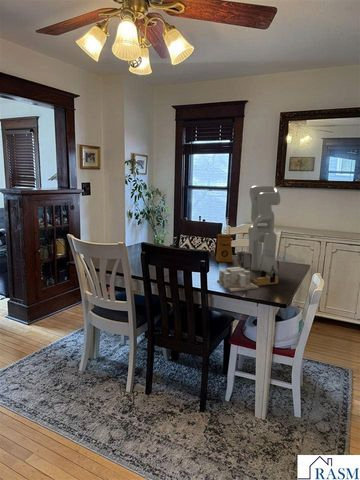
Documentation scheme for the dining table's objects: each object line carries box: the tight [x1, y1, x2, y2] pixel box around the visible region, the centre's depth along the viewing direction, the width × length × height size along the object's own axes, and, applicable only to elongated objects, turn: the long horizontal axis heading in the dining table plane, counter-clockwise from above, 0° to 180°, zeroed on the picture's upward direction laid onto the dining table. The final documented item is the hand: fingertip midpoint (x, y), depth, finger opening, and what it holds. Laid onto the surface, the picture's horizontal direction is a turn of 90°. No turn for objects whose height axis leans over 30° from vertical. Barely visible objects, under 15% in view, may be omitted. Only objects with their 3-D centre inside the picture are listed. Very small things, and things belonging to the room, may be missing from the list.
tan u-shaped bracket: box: [250, 274, 279, 286], centre depth 209 cm, size 12×14×4 cm
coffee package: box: [215, 233, 233, 263], centre depth 257 cm, size 10×12×22 cm
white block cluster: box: [216, 266, 259, 292], centre depth 201 cm, size 19×18×9 cm
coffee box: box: [235, 251, 252, 278], centre depth 219 cm, size 9×6×16 cm
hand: (267, 280), depth 204 cm, fingers open, 9 cm apart
